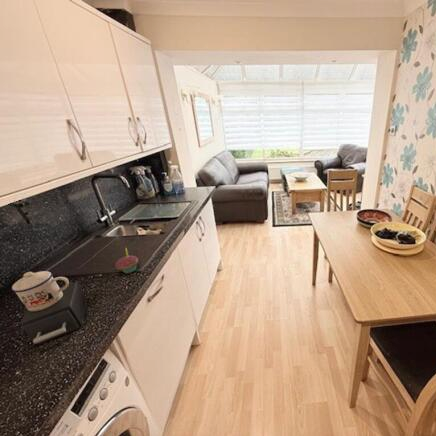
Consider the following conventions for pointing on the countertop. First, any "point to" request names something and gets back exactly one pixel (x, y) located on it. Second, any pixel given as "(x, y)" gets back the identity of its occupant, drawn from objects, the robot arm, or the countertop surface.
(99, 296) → the countertop surface
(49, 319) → the drawer
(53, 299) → the teacup with lid
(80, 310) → the cabinet
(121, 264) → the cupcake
